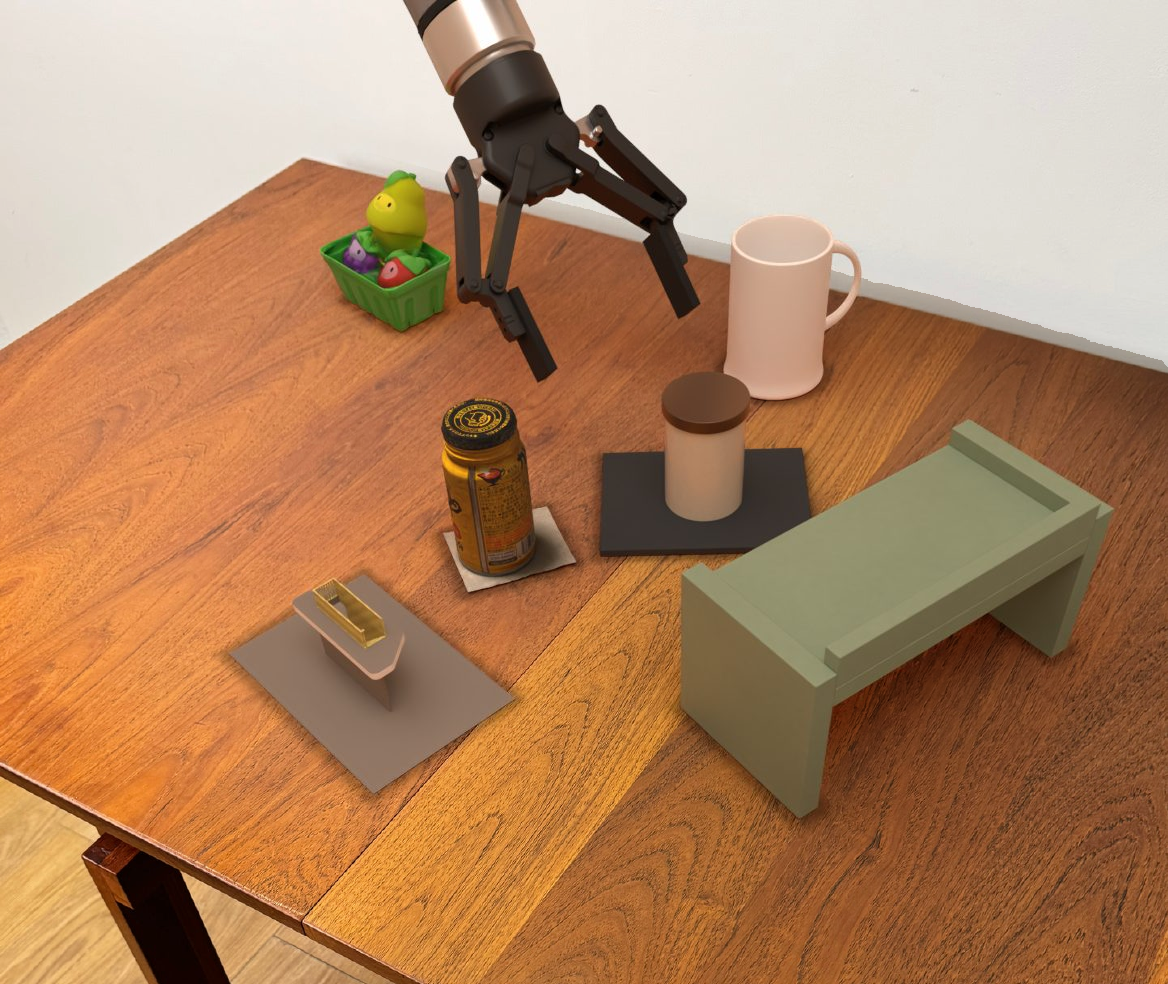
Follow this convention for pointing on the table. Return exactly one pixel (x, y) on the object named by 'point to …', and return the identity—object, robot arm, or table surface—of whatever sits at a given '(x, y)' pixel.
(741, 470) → the spice jar
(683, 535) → the mat
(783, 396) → the mug
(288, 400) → the table surface
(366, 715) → the platform
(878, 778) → the table surface
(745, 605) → the stand
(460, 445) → the condiment
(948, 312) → the table surface
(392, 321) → the fruit basket
